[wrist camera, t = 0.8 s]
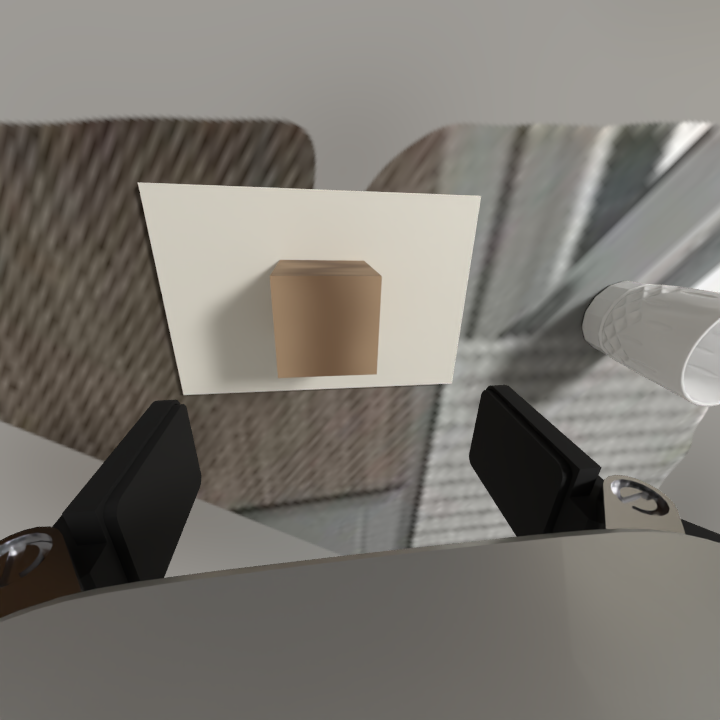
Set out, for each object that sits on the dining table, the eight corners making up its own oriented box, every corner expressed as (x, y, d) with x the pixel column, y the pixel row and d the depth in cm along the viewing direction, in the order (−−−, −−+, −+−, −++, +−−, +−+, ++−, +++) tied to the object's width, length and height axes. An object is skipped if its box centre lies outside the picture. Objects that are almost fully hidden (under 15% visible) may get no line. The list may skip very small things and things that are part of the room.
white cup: (611, 260, 29) (745, 281, 20) (669, 292, 31) (814, 324, 22) (559, 339, 32) (658, 389, 23) (616, 363, 34) (728, 418, 25)
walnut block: (364, 260, 26) (381, 276, 19) (361, 338, 28) (376, 374, 22) (279, 259, 25) (269, 275, 18) (285, 339, 27) (277, 378, 21)
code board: (477, 196, 26) (481, 195, 25) (449, 380, 32) (451, 383, 31) (141, 183, 22) (137, 182, 22) (186, 391, 29) (183, 395, 28)
